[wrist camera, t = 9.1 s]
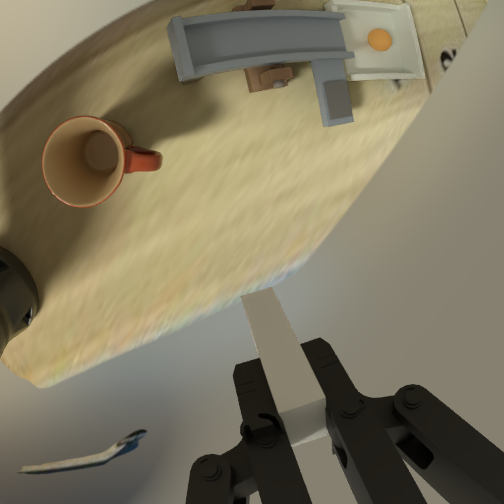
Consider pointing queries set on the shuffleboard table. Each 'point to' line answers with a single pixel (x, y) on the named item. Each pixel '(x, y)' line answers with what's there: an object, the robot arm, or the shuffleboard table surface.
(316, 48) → the lever
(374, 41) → the ball
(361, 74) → the tray
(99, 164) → the mug
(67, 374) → the shuffleboard table surface
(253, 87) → the fulcrum
